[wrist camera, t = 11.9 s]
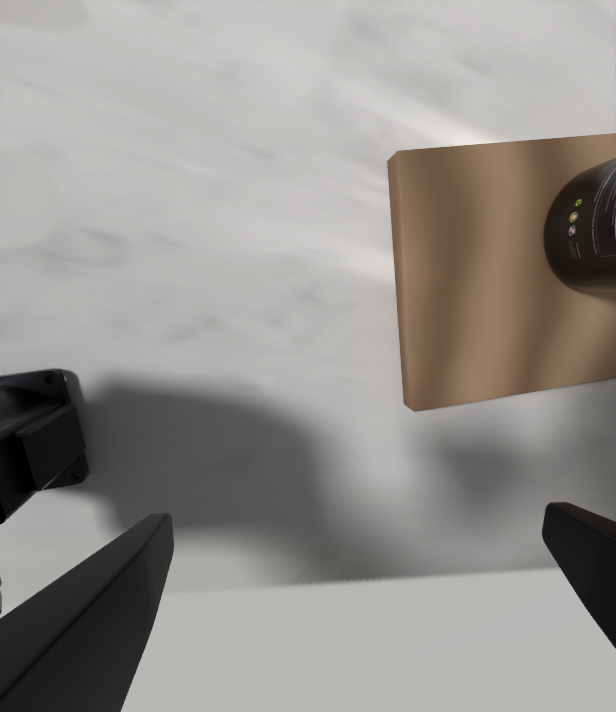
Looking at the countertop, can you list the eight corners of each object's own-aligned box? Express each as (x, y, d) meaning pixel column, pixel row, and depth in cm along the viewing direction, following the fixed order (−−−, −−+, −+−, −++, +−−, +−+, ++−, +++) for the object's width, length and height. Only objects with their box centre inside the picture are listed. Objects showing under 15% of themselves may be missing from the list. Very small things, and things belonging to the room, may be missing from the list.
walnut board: (403, 403, 22) (414, 411, 21) (387, 161, 19) (397, 150, 18) (628, 366, 24) (653, 371, 23) (643, 140, 21) (671, 128, 20)
